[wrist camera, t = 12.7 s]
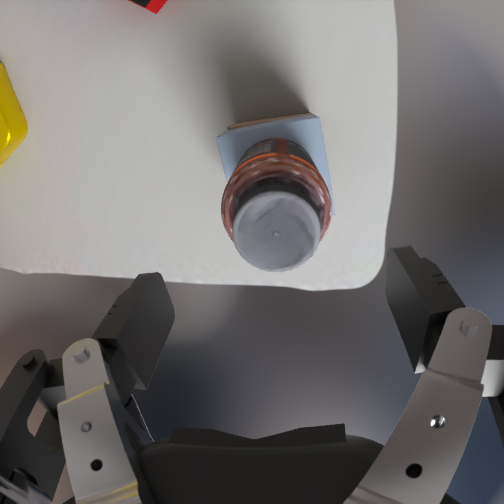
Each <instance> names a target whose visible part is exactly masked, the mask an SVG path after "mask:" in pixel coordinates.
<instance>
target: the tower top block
mask: <svg viewBox="0 0 504 504" xmlns="http://www.w3.org/2000/svg"><path fill="white" fill-rule="evenodd" d="M268 138H284V139H288V140H291V141H293V142H295V143H297V144H299V145H300V146H301V147H302V148H304V149H305V150H306V152H307V153H308V154H309V155H310V157H311V158H312V160H313V162H314V163H315V165H316V167H317V169H318V170H319V172H320V174H321V176H322V177H323V179H324V181H325V183H326V185H327V187H328V190H329V193H330V197H331V203H332V215H335V211H334V203H333V196H332V188H331V181H330V175H329V168H328V162H327V156H326V150H325V144H324V138H323V133H322V127H321V122H320V117H318V116H316V115H313V114H311V115H305V116H298V117H292V118H287V119H281V120H275V121H270V122H265V123H260V124H255V125H250V126H246V127H241V128H236V129H232V130H228V131H225V132H224V133H222V134H221V135H219V136H218V137H216V140H217V144H218V148H219V152H220V156H221V160H222V164H223V168H224V172H225V175H226V179H227V183H228V181H229V179H230V177H231V175H232V174H233V172H234V170H235V168H236V167H237V165H238V163H239V161H240V159H241V157H242V156H243V154H244V153H245V152H246V151H247V150H248V149H249V148H250V147H251V146H252V145H254V144H255V143H257V142H259V141H261V140H264V139H268ZM332 215H331V216H332Z"/></svg>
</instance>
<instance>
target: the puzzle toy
mask: <svg viewBox="0 0 504 504" xmlns="http://www.w3.org/2000/svg"><path fill="white" fill-rule="evenodd" d="M128 1H131V2H133V3H135V4H137V5H139V6H141V7H143V8H145V9H147V10H149V11H151V12H154V13H155V14H157V13H158V12H159V10H160V9H161V8H162V6H163V5H164V4H165V3H166V1H167V0H128Z"/></svg>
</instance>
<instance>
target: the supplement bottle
mask: <svg viewBox="0 0 504 504" xmlns="http://www.w3.org/2000/svg"><path fill="white" fill-rule="evenodd" d="M221 215H222V220H223V224H224V227H225V229H226V231H227V233H228V235H229V237H230V238H231V240H232V241H233V242H234V244H235V247H236V249H237V251H238V252H239V253H240V255H241V256H242V257H243V258H244V259H245V260H246V261H247V262H248V263H250V264H251V265H252V266H254V267H256V268H259V269H261V270H264V271H270V272H284V271H288V270H292V269H294V268H297V267H299V266H301V265H302V264H304V263H305V262H306V261H307V260H308V259H309V258H310V257H312V255H313V254H314V252H315V250H316V249H317V247H318V245H319V242H320V241H321V240H322V238H323V237H324V236H325V234H326V232H327V230H328V227H329V224H330V220H331V215H332V203H331V197H330V193H329V190H328V187H327V185H326V183H325V181H324V179H323V177H322V176H321V174H320V172H319V170H318V169H317V167H316V165H315V163H314V162H313V160H312V158H311V157H310V155H309V154H308V153H307V152H306V150H305V149H304V148H302V147H301V146H300V145H299V144H297V143H295V142H293V141H291V140H288V139H284V138H268V139H264V140H261V141H259V142H257V143H255V144H254V145H252V146H251V147H250V148H249V149H248V150H247V151H246V152H245V153H244V154H243V156H242V157H241V159H240V161H239V163H238V165H237V167H236V168H235V170H234V172H233V174H232V175H231V177H230V179H229V181H228V183H227V185H226V188H225V190H224V193H223V197H222V203H221Z"/></svg>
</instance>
